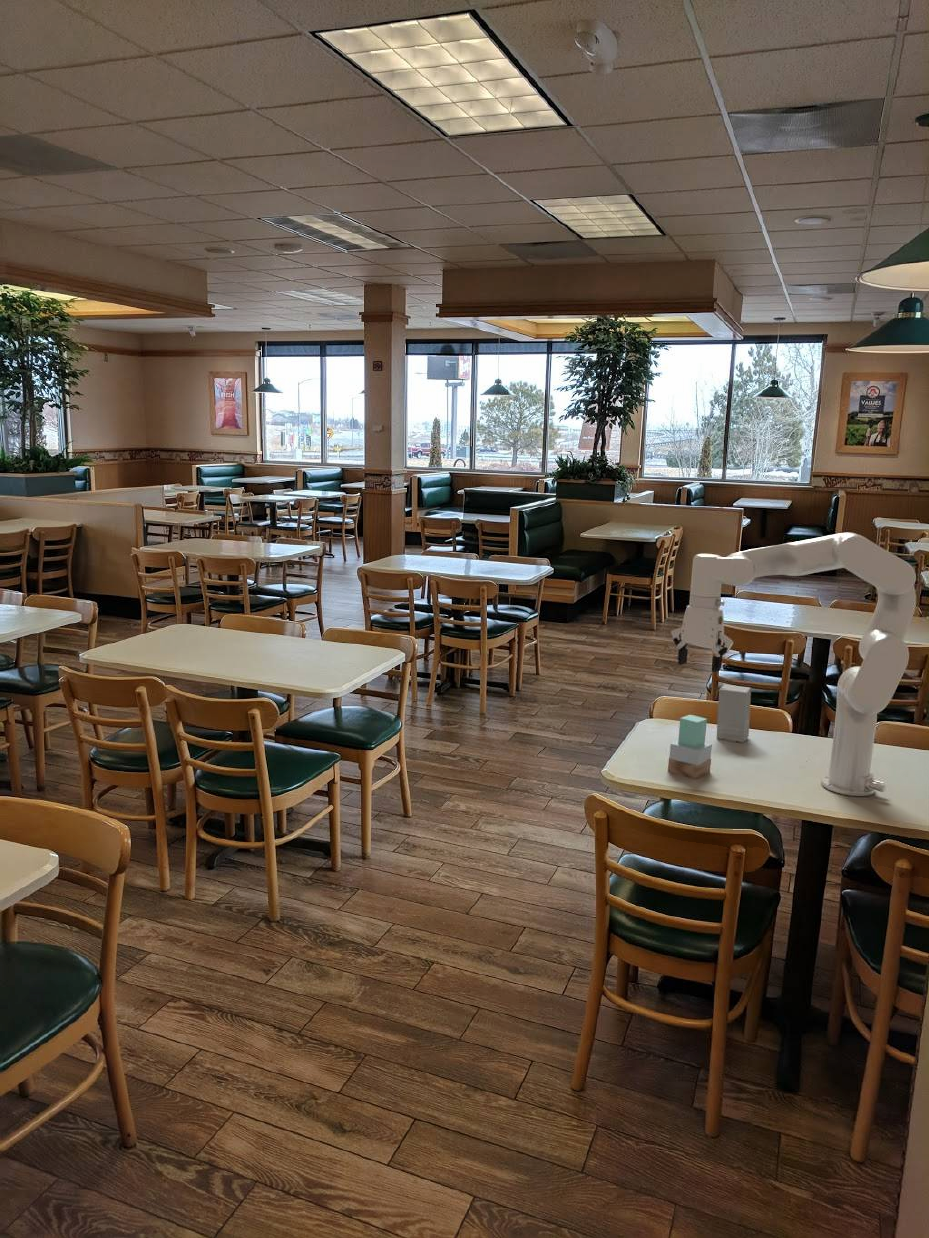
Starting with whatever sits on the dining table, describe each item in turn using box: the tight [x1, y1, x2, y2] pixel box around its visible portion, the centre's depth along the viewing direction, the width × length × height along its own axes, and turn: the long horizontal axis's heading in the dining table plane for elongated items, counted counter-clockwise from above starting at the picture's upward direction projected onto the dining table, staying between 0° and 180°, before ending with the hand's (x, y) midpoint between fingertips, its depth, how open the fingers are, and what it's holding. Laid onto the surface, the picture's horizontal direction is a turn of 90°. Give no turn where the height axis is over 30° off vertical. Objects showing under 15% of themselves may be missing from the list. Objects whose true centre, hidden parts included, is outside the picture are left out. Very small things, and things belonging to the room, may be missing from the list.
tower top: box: [668, 739, 713, 766], centre depth 235 cm, size 8×8×4 cm
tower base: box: [667, 757, 712, 780], centre depth 236 cm, size 8×8×4 cm
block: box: [677, 714, 708, 748], centre depth 234 cm, size 5×5×7 cm
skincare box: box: [716, 684, 752, 744], centre depth 265 cm, size 8×7×16 cm
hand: (698, 667), depth 231 cm, fingers open, 9 cm apart
